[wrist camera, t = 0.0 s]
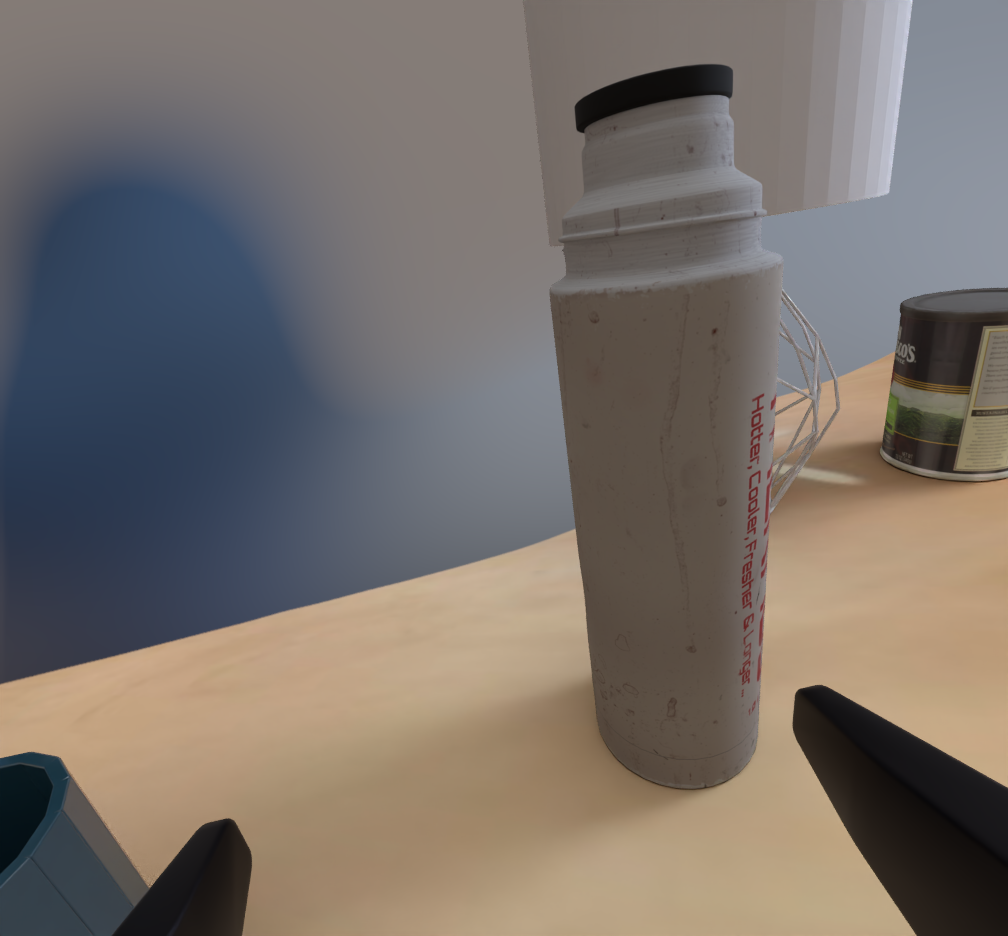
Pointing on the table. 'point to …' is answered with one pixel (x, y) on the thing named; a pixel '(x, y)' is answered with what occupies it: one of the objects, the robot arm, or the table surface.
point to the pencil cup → (58, 855)
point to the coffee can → (950, 387)
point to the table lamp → (738, 103)
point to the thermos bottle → (670, 421)
